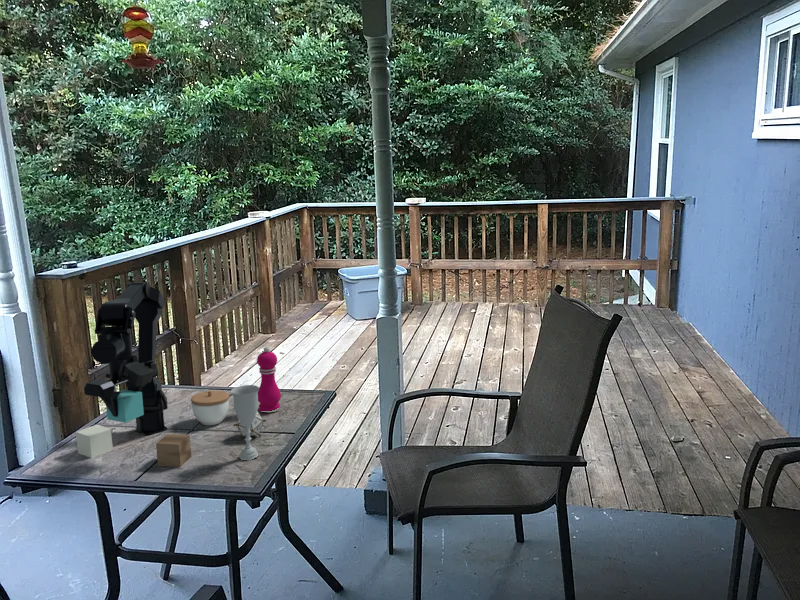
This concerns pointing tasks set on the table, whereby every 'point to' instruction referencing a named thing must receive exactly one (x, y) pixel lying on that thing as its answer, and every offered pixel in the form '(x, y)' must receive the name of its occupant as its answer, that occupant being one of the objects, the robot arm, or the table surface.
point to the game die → (251, 426)
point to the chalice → (246, 414)
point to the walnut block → (173, 450)
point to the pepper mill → (268, 381)
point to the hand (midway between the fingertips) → (125, 412)
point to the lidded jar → (210, 406)
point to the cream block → (94, 441)
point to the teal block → (127, 406)
